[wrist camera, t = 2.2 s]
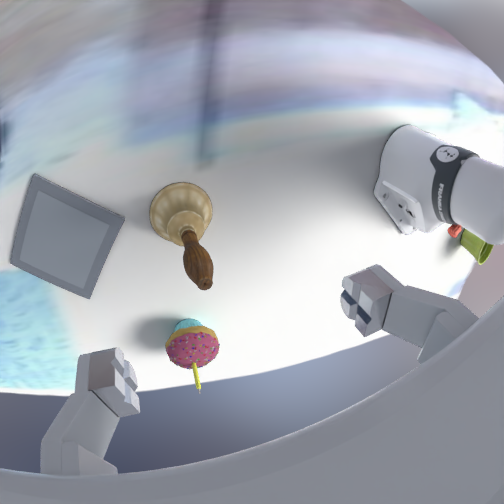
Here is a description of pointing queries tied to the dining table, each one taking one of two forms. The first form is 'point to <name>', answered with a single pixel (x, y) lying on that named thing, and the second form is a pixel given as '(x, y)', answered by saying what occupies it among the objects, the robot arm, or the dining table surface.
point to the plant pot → (476, 246)
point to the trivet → (63, 237)
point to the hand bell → (185, 226)
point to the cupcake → (192, 346)
